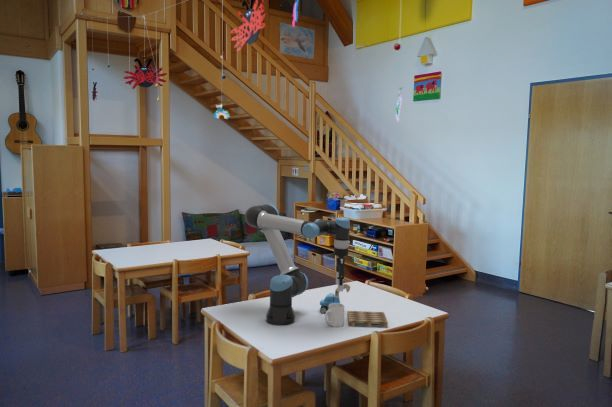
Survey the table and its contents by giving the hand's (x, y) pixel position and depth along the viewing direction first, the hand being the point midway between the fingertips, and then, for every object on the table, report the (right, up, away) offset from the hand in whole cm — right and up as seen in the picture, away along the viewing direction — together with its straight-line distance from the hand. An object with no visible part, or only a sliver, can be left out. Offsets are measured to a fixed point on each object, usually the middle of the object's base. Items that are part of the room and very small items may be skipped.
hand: (339, 287), depth 258 cm
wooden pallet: (+15, -19, +5) cm, 25 cm away
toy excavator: (-1, -18, +20) cm, 27 cm away
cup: (-3, -20, -1) cm, 20 cm away
